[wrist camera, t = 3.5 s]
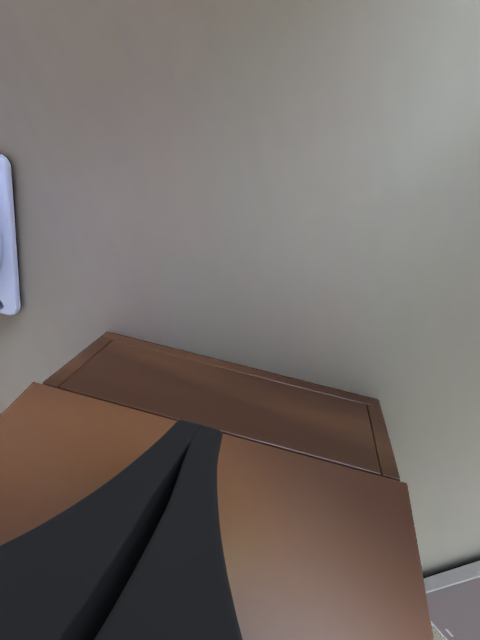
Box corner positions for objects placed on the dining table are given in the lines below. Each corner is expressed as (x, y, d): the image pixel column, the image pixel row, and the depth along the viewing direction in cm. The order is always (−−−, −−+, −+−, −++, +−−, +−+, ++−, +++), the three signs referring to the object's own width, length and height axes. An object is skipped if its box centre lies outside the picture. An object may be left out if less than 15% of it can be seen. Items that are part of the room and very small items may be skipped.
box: (315, 560, 23) (315, 660, 19) (101, 496, 25) (50, 574, 20) (379, 399, 18) (401, 479, 14) (106, 330, 20) (41, 382, 15)
